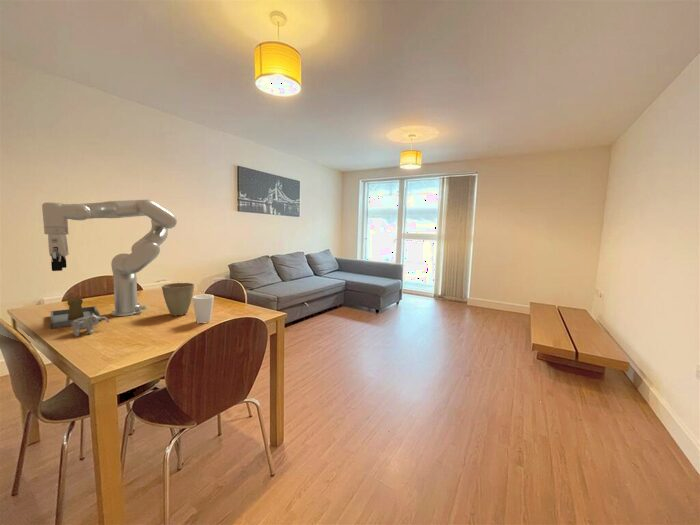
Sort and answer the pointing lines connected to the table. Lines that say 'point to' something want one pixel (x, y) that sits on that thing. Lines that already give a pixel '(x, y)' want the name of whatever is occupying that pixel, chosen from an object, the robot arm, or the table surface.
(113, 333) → the table surface
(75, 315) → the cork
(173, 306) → the plant pot
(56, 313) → the tray
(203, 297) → the foam cup
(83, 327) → the gray elephant figurine
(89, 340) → the table surface
